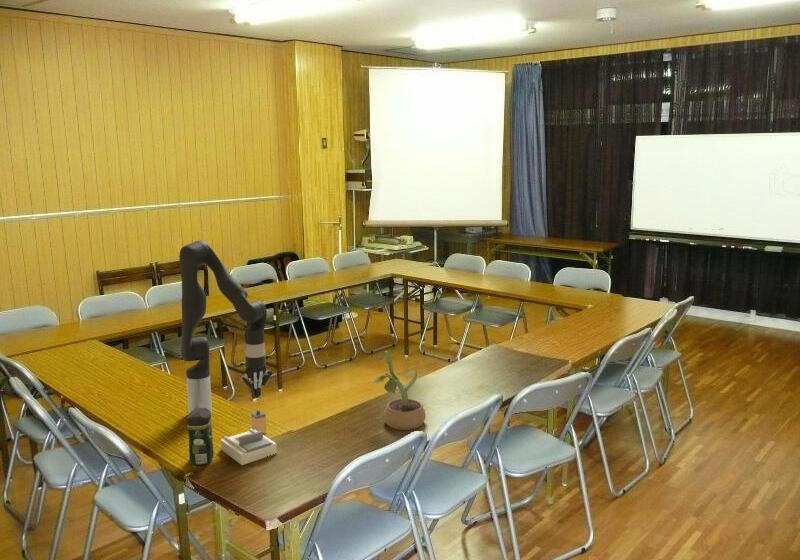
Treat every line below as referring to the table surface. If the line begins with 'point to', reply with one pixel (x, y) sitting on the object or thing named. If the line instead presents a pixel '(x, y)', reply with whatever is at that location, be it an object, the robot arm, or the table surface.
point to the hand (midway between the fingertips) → (256, 396)
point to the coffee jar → (200, 436)
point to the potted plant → (401, 401)
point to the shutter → (253, 441)
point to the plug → (259, 421)
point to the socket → (241, 455)
